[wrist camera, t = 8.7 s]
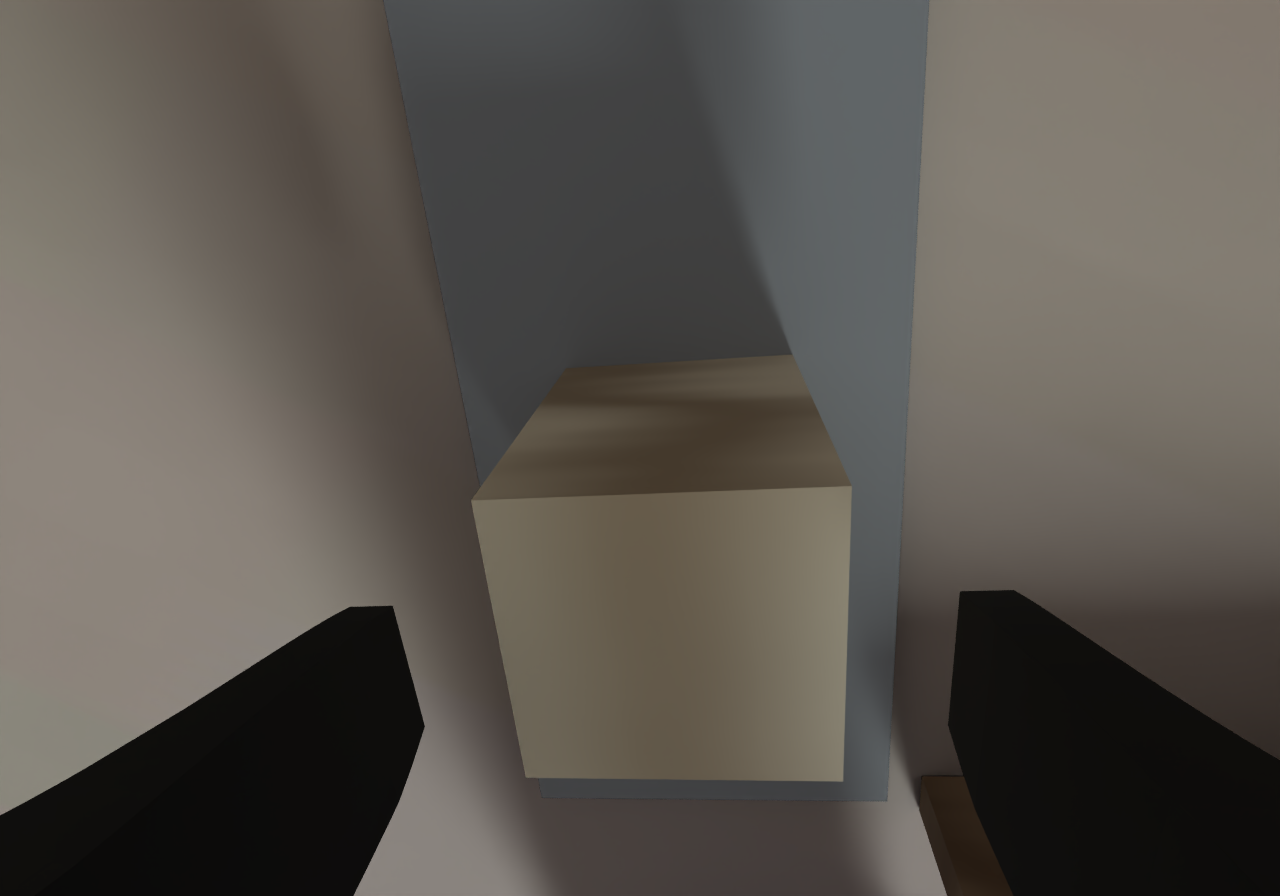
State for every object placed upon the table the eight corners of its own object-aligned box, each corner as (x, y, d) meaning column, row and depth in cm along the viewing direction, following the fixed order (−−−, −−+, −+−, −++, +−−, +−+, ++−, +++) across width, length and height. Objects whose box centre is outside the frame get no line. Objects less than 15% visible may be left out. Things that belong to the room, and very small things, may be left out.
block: (591, 560, 16) (526, 777, 10) (565, 367, 14) (470, 500, 8) (793, 555, 15) (843, 781, 9) (792, 354, 13) (851, 485, 8)
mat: (546, 779, 19) (541, 797, 18) (391, -27, 12) (376, -37, 11) (881, 781, 18) (887, 801, 17) (923, -105, 11) (935, -120, 10)
